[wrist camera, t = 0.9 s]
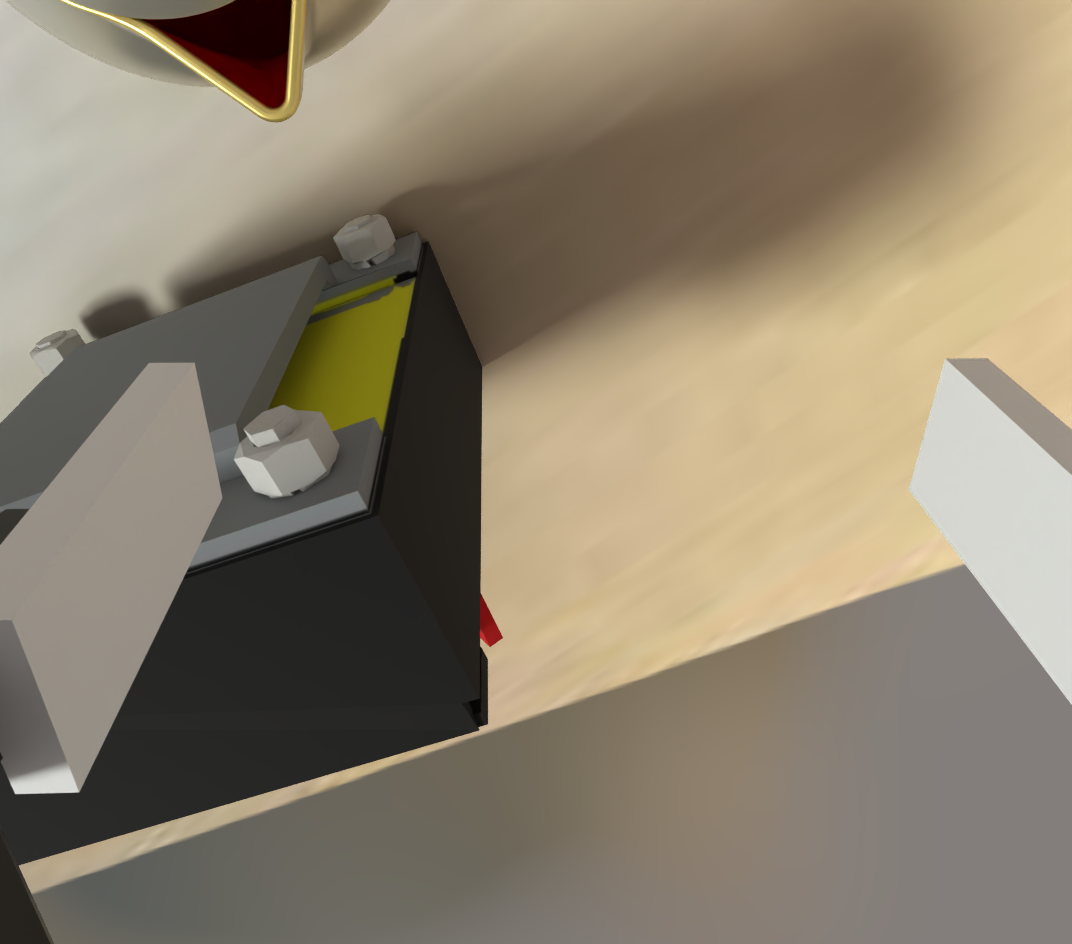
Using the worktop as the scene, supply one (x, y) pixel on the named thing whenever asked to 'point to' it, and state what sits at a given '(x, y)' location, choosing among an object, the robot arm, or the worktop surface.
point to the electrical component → (287, 538)
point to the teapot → (211, 41)
